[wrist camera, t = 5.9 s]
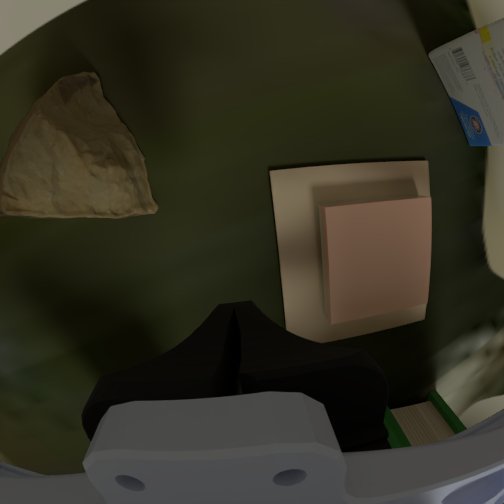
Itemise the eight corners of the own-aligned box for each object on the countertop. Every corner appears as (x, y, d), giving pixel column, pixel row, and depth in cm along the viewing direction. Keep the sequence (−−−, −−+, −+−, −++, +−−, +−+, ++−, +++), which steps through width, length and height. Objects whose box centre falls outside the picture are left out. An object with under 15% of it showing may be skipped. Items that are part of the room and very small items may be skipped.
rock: (29, 68, 14) (-2, 208, 16) (40, 8, 8) (-17, 219, 9) (157, 95, 22) (135, 219, 23) (221, 62, 16) (192, 233, 17)
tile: (324, 314, 22) (416, 295, 23) (330, 324, 21) (427, 303, 21) (317, 204, 20) (418, 194, 21) (325, 207, 19) (431, 197, 19)
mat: (422, 317, 24) (424, 319, 23) (287, 347, 23) (288, 349, 23) (425, 160, 20) (427, 160, 20) (269, 170, 20) (269, 171, 20)
